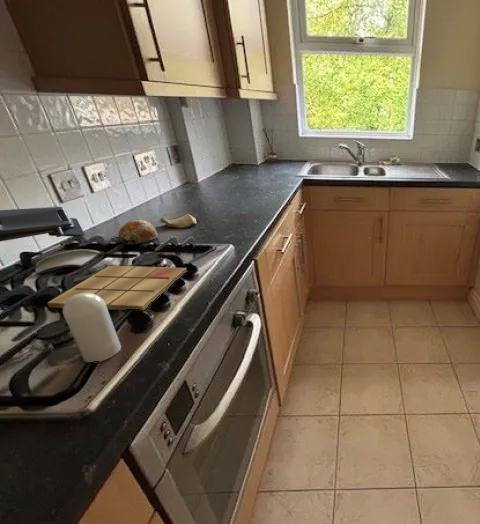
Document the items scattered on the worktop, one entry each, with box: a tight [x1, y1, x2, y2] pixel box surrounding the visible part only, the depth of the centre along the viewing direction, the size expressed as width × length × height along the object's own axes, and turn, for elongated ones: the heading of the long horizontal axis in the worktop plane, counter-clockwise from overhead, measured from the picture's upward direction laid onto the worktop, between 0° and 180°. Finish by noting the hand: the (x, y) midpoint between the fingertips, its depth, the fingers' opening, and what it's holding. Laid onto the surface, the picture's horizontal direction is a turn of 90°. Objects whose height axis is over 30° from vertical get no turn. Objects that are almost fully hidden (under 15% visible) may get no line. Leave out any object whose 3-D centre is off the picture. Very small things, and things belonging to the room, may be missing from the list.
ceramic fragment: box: [34, 249, 102, 275], centre depth 86 cm, size 14×5×4 cm, turn 142°
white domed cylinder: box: [62, 293, 122, 363], centre depth 56 cm, size 5×5×12 cm
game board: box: [47, 265, 188, 311], centre depth 78 cm, size 20×18×1 cm
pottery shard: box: [159, 213, 198, 229], centre depth 118 cm, size 11×4×10 cm
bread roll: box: [117, 219, 159, 245], centre depth 104 cm, size 10×10×8 cm
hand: (30, 244), depth 49 cm, fingers open, 13 cm apart
